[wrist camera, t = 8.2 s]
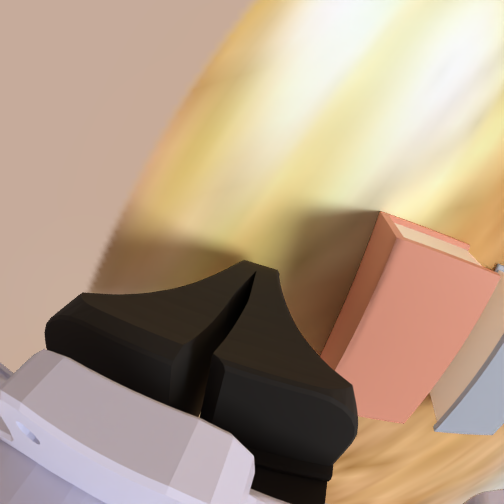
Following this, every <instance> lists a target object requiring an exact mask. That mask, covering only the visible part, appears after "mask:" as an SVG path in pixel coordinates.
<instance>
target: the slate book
mask: <svg viewBox="0 0 504 504" xmlns="http://www.w3.org/2000/svg"><path fill="white" fill-rule="evenodd" d="M494 272H497V273H498V274H499V275H500V276H501V278H500V280H499V282H498V284H497V286H496V288H495V290H494V292H493V294H492V296H491V298H490V299H489V301H488V303H487V305H486V307H485V309H484V310H483V312H482V314H481V316H480V317H479V319H478V321H477V323H476V324H475V326H474V328H473V329H472V331H471V333H470V334H469V336H468V338H467V339H466V341H465V342H464V344H463V345H462V347H461V349H460V350H459V352H458V353H457V355H456V356H455V358H454V359H453V361H452V362H451V363H450V365H449V366H448V368H447V369H446V371H445V372H444V373H443V375H442V376H441V378H440V379H439V380H438V382H437V383H436V384H435V386H434V387H433V388H432V390H431V391H430V396H431V400H432V404H433V408H434V412H435V416H436V420H437V423H436V424H435V425H434V426H433V428H434V431H435V432H446V433H459V434H475V435H493V434H494V433H495V432H496V431H497V430H498V429H499V428H500V427H501V426H502V425H503V424H504V266H503V265H500V264H497V267H496V269H495V271H494Z"/></svg>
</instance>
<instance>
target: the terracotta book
mask: <svg viewBox="0 0 504 504" xmlns="http://www.w3.org/2000/svg"><path fill="white" fill-rule="evenodd" d="M469 248H470V245H469V244H467V243H464V242H462V241H459V240H457V239H454V238H452V237H449V236H447V235H444V234H442V233H439V232H437V231H434V230H431V229H429V228H426V227H423V226H421V225H418V224H415V223H413V222H410V221H407V220H404V219H402V218H399V217H396V216H393V215H390V214H388V213H385V212H382V211H380V212H379V215H378V218H377V221H376V223H375V226H374V229H373V232H372V234H371V237H370V240H369V242H368V245H367V248H366V250H365V253H364V256H363V258H362V261H361V263H360V266H359V268H358V271H357V273H356V276H355V278H354V281H353V283H352V286H351V288H350V290H349V293H348V295H347V297H346V300H345V302H344V304H343V307H342V309H341V311H340V314H339V316H338V318H337V320H336V323H335V325H334V327H333V329H332V331H331V334H330V336H329V338H328V340H327V342H326V344H325V346H324V349H323V351H322V353H321V355H320V357H321V358H322V359H323V360H324V361H325V362H326V363H327V364H328V365H329V366H330V367H331V368H332V369H333V370H334V371H336V372H337V373H338V374H339V375H341V376H342V377H343V378H344V379H346V380H347V381H348V382H349V383H351V384H352V385H353V390H354V395H355V399H356V405H357V412H358V416H361V417H366V418H371V419H377V420H383V421H389V422H396V423H403V424H404V423H405V422H406V420H407V419H408V418H409V417H410V416H411V415H412V413H413V412H414V411H415V410H416V409H417V407H418V406H419V405H420V404H421V402H422V401H423V400H424V399H425V397H426V396H427V395H428V394H429V392H430V391H431V390H432V388H433V387H434V386H435V384H436V383H437V382H438V380H439V379H440V378H441V376H442V375H443V373H444V372H445V371H446V369H447V368H448V366H449V365H450V363H451V362H452V361H453V359H454V358H455V356H456V355H457V353H458V352H459V350H460V349H461V347H462V345H463V344H464V342H465V341H466V339H467V338H468V336H469V334H470V333H471V331H472V329H473V328H474V326H475V324H476V323H477V321H478V319H479V317H480V316H481V314H482V312H483V310H484V309H485V307H486V305H487V303H488V301H489V299H490V298H491V296H492V294H493V292H494V290H495V288H496V286H497V284H498V282H499V280H500V278H501V276H500V275H499V274H498V273H497V272H494V271H492V270H490V269H487V268H485V267H483V266H482V265H481V264H480V263H479V262H478V261H477V260H476V259H475V258H474V257H473V256H472V255H471V254H470V253H469V252H468V250H469Z"/></svg>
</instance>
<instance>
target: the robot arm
mask: <svg viewBox="0 0 504 504" xmlns="http://www.w3.org/2000/svg"><path fill="white" fill-rule="evenodd" d="M45 341H46V348H47V350H45V349H43V350H41V351H39V352H38V353H36V354H34V355H33V356H32V357H31V358H30V359H28V360H27V361H26V362H25V363H24V364H23V365H22V366H21V367H20V368H19V369H18V370H17V371H16V372H15V373H13V372H11V371H10V370H9V369H8V368H6V367H5V366H4V365H3V364H1V363H0V504H326V503H325V497H326V488H327V481H329V480H331V477H332V472H333V464H334V463H335V462H336V461H337V459H338V458H339V457H340V456H341V455H342V454H343V453H344V452H345V451H346V449H347V448H348V447H349V446H350V445H351V444H352V442H353V440H354V439H355V437H356V435H357V429H358V412H357V405H356V399H355V395H354V390H353V385H352V384H351V383H349V382H348V381H347V380H346V379H344V378H343V377H342V376H341V375H339V374H338V373H337V372H336V371H334V370H333V369H332V368H331V367H330V366H329V365H328V364H327V363H326V362H325V361H324V360H323V359H322V358H321V357H320V356H318V354H317V353H316V352H315V351H314V350H313V349H312V348H311V346H310V345H309V344H308V343H307V341H306V340H305V339H304V337H303V336H302V335H301V333H300V332H299V330H298V328H297V327H296V325H295V323H294V321H293V319H292V317H291V315H290V312H289V310H288V308H287V305H286V302H285V299H284V296H283V293H282V289H281V285H280V279H279V272H278V270H275V269H272V268H269V267H265V266H262V265H259V264H256V263H252V262H249V261H246V260H243V261H241V262H239V263H237V264H235V265H233V266H231V267H229V268H228V269H226V270H224V271H222V272H220V273H217V274H215V275H213V276H211V277H208V278H206V279H203V280H201V281H198V282H196V283H193V284H189V285H186V286H182V287H178V288H174V289H170V290H164V291H157V292H151V293H142V294H124V295H112V294H94V293H82V294H80V295H79V296H77V297H76V298H75V299H74V300H72V301H71V302H70V303H69V304H67V305H66V306H65V307H64V308H62V309H61V310H60V311H59V312H57V313H56V314H55V315H54V316H53V317H51V318H50V320H49V321H48V322H47V324H46V328H45ZM200 412H201V413H200ZM199 415H200V418H199ZM463 504H504V489H500V490H493V491H486V492H482V493H479V494H477V495H475V496H473V497H471V498H470V499H468V500H467V501H466V502H464V503H463Z"/></svg>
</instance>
